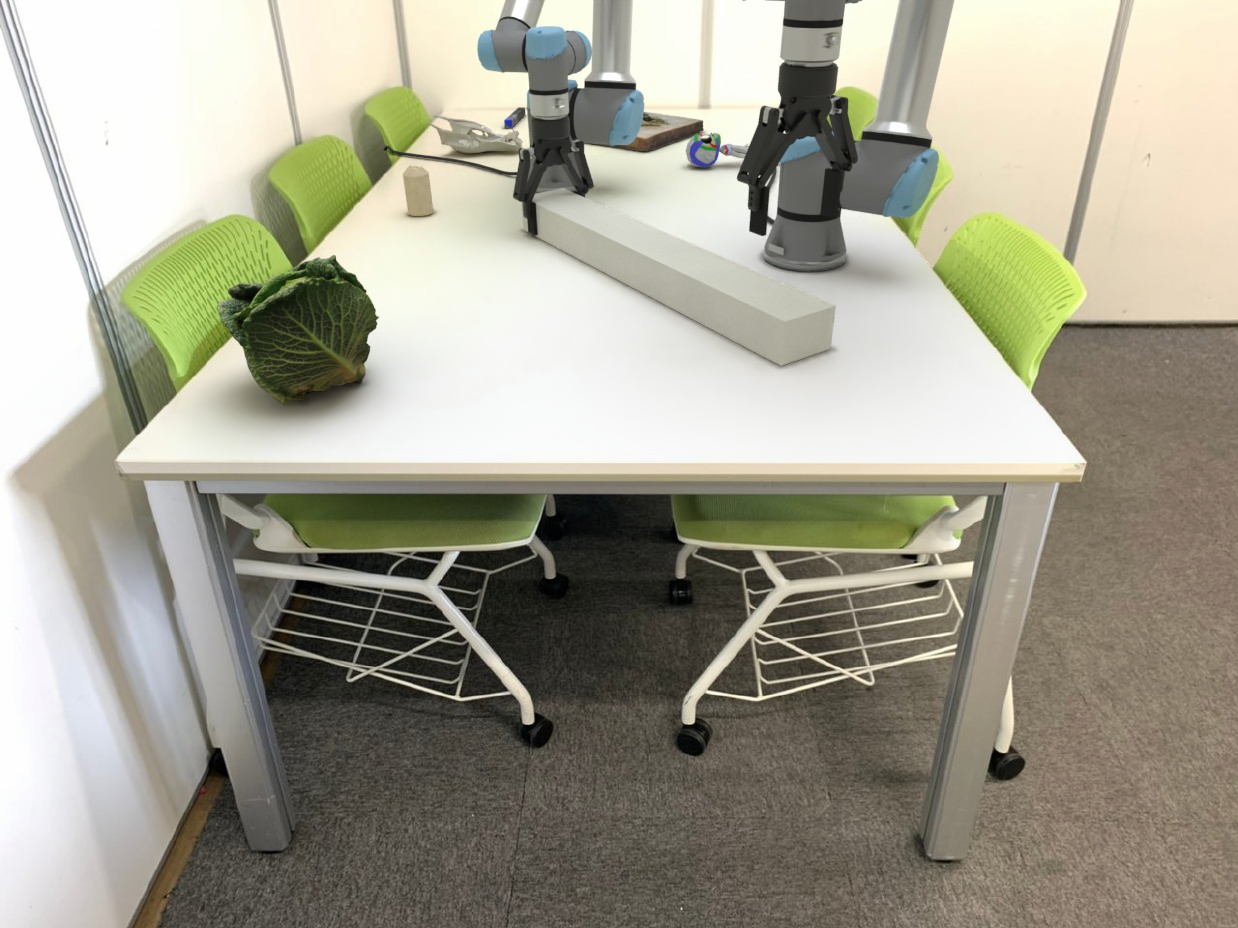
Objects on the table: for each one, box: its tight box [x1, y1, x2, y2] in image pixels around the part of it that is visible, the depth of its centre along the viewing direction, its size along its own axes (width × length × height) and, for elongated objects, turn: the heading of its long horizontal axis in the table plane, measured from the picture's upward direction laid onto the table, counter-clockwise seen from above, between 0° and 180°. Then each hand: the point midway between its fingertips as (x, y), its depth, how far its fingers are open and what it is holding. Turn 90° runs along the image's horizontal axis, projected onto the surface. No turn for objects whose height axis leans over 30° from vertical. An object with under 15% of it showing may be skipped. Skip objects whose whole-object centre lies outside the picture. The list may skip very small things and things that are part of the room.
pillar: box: [503, 107, 527, 129], centre depth 277 cm, size 2×2×20 cm
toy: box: [685, 132, 749, 168], centre depth 228 cm, size 10×8×30 cm
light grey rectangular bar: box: [520, 188, 837, 367], centre depth 159 cm, size 79×10×7 cm, turn 34°
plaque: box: [591, 111, 705, 152], centre depth 257 cm, size 30×7×30 cm
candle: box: [402, 165, 434, 217], centre depth 195 cm, size 6×6×10 cm
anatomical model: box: [427, 114, 524, 154], centre depth 243 cm, size 15×9×25 cm
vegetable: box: [216, 254, 380, 405], centre depth 123 cm, size 20×19×20 cm
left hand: (555, 228), depth 185 cm, fingers closed on light grey rectangular bar, 10 cm apart
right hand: (794, 224), depth 127 cm, fingers open, 13 cm apart
